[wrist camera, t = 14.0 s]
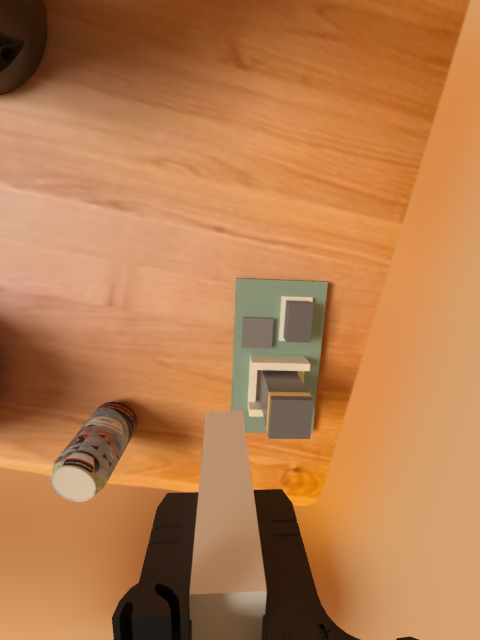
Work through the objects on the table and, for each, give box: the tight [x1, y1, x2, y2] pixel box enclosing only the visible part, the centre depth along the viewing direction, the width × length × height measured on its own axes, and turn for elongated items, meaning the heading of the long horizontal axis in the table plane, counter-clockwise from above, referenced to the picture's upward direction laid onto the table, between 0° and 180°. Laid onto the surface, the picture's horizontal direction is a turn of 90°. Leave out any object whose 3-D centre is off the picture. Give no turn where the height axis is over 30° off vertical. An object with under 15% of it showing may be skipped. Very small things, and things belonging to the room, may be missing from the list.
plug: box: [259, 370, 314, 439], centre depth 37 cm, size 5×5×10 cm
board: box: [231, 278, 328, 433], centre depth 40 cm, size 22×12×4 cm, turn 178°
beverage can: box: [50, 402, 137, 502], centre depth 37 cm, size 6×7×12 cm
